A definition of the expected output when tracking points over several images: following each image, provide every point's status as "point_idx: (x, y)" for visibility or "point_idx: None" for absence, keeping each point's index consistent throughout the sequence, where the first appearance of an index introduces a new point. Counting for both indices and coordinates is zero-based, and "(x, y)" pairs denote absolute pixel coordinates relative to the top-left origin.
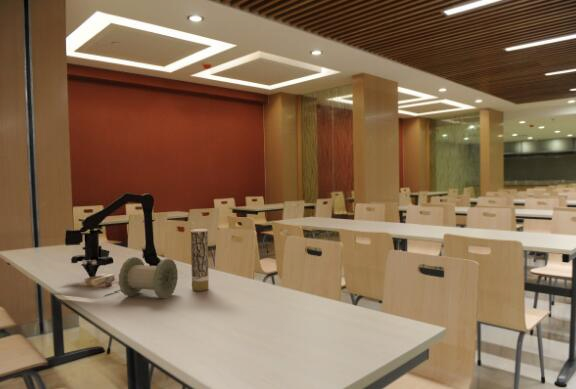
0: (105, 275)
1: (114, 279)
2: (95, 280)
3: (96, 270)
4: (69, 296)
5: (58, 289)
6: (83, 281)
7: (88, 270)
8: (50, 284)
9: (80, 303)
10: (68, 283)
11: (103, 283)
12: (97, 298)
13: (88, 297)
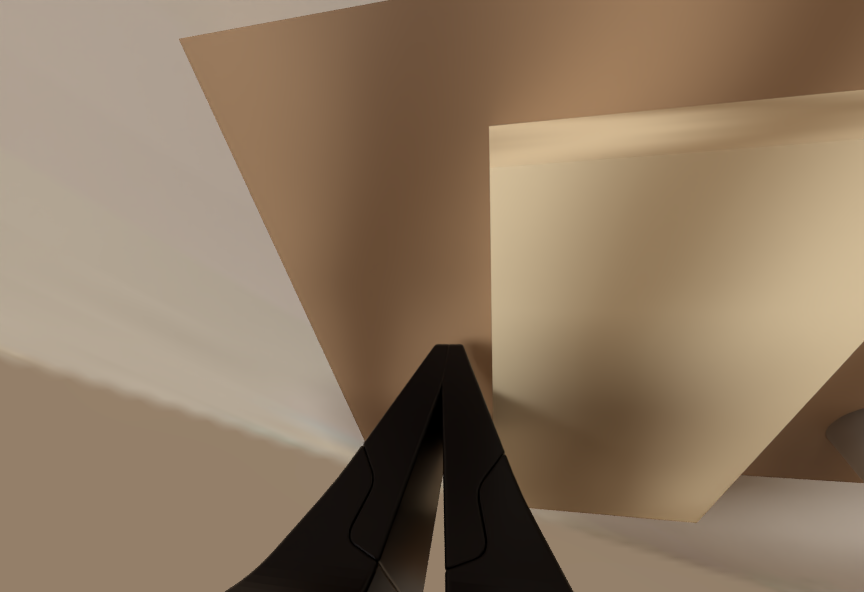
0: (714, 320)
1: (842, 34)
2: (693, 513)
3: (518, 501)
4: (566, 519)
5: (323, 445)
6: (331, 350)
7: (424, 570)
8: (92, 376)
9: (748, 574)
10: (147, 319)
11: None
12: (831, 536)
13: (733, 527)
